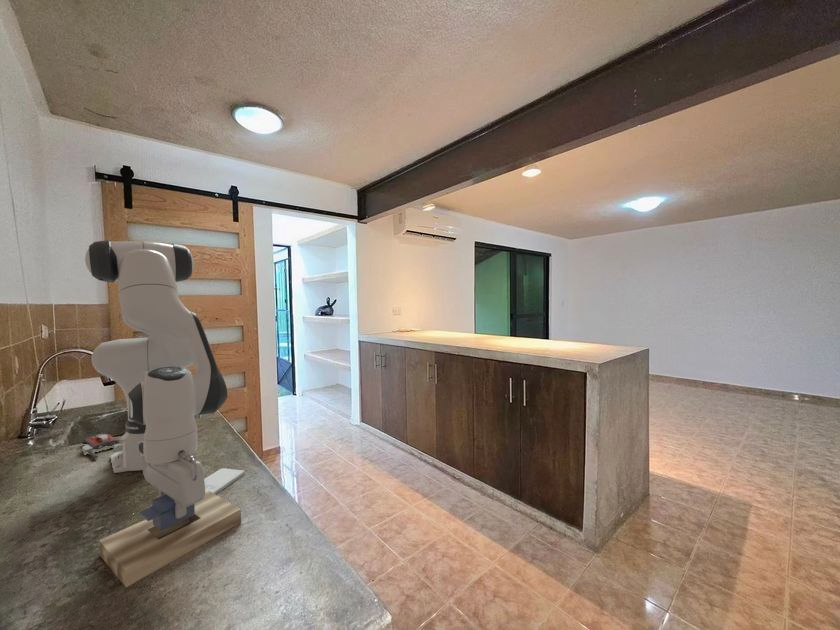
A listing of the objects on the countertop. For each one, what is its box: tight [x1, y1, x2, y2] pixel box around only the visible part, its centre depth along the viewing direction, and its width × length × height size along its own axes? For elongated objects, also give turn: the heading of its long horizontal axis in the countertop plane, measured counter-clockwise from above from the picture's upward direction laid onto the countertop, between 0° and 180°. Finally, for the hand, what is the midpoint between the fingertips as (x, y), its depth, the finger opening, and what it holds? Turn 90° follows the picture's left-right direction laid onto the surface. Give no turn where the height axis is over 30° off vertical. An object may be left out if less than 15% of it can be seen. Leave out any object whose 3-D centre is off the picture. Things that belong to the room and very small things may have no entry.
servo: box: [139, 494, 195, 531], centre depth 69 cm, size 4×10×6 cm, turn 148°
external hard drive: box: [204, 467, 246, 495], centre depth 90 cm, size 2×8×12 cm
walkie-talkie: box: [81, 433, 120, 459], centre depth 113 cm, size 9×4×20 cm
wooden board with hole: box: [98, 491, 242, 588], centre depth 69 cm, size 14×20×3 cm
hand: (174, 511), depth 69 cm, fingers closed on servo, 4 cm apart
